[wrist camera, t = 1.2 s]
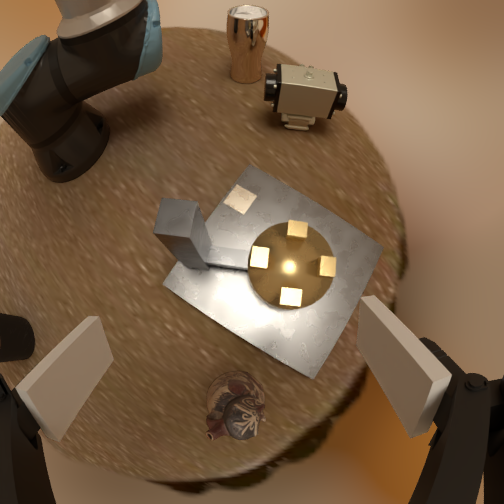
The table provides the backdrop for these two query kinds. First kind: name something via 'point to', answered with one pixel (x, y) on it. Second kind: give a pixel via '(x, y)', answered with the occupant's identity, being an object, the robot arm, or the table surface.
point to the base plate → (238, 286)
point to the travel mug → (15, 338)
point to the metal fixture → (254, 255)
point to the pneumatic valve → (304, 94)
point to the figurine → (235, 406)
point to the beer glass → (247, 41)
